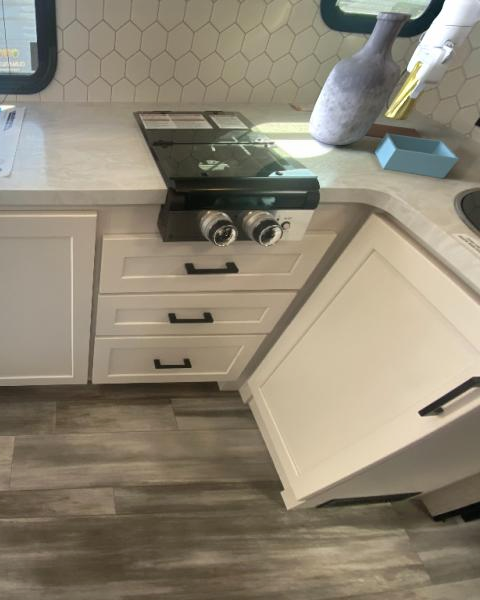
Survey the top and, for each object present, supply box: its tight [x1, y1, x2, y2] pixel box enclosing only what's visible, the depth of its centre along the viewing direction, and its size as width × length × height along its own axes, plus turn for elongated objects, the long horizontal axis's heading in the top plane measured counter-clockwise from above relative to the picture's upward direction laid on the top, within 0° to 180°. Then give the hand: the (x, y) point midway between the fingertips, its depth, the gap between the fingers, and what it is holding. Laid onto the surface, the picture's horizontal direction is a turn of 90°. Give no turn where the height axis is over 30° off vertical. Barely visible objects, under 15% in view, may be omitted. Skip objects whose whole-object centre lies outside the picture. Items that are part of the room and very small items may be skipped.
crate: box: [374, 133, 459, 179], centre depth 91 cm, size 13×13×5 cm
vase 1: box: [308, 11, 413, 146], centre depth 93 cm, size 16×16×30 cm
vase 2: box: [384, 61, 426, 121], centre depth 103 cm, size 6×6×14 cm
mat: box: [364, 123, 423, 139], centre depth 111 cm, size 18×14×1 cm
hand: (409, 95), depth 104 cm, fingers closed on vase 2, 5 cm apart
